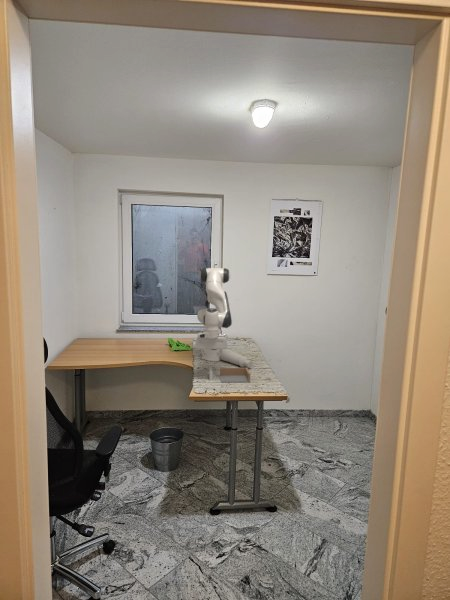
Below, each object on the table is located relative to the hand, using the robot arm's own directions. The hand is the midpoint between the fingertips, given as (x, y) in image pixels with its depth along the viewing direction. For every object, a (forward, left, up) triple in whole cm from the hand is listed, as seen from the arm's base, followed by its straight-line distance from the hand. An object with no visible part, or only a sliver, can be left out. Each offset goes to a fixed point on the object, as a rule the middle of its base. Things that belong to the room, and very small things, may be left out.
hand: (211, 355), depth 231 cm
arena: (+2, +15, -15) cm, 21 cm away
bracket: (0, +1, -15) cm, 15 cm away
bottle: (-31, +20, -15) cm, 39 cm away
